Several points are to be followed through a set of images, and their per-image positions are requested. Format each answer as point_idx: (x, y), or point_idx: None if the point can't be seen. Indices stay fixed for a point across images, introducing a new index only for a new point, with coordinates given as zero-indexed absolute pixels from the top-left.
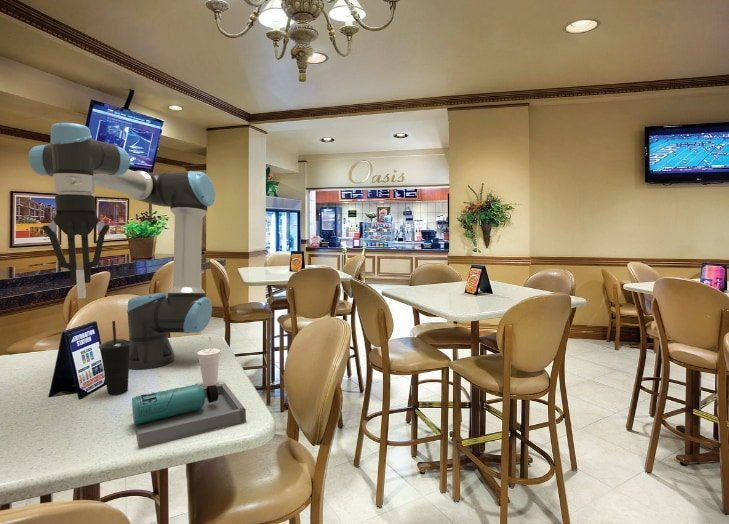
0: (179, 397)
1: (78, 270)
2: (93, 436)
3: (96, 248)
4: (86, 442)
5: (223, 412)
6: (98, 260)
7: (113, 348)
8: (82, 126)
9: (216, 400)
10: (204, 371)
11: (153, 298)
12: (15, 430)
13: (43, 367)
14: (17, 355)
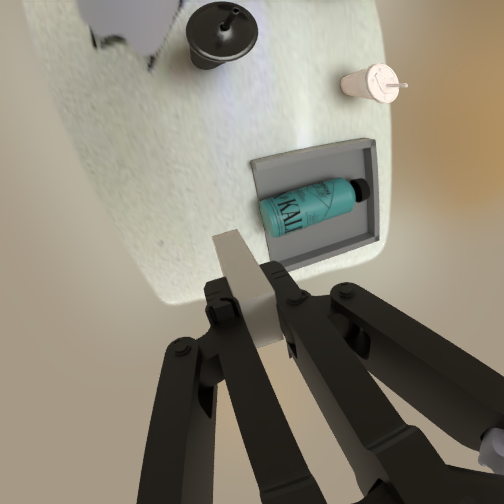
0: (327, 219)
1: (260, 344)
2: (213, 224)
3: (397, 390)
4: (209, 239)
5: (360, 241)
6: (365, 339)
7: (225, 61)
8: None
9: (358, 192)
10: (357, 94)
11: None
12: (98, 178)
13: None
14: None
